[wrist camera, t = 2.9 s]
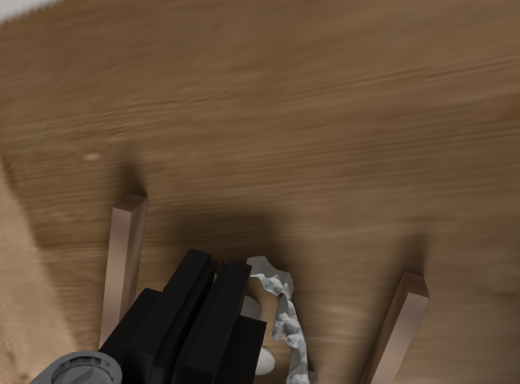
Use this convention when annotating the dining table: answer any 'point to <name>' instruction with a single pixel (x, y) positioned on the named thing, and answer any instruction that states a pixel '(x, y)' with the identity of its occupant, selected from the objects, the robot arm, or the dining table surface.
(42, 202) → the dining table surface
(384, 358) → the pair of wooden bars
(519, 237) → the dining table surface
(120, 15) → the dining table surface
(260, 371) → the egg carton
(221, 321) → the robot arm
